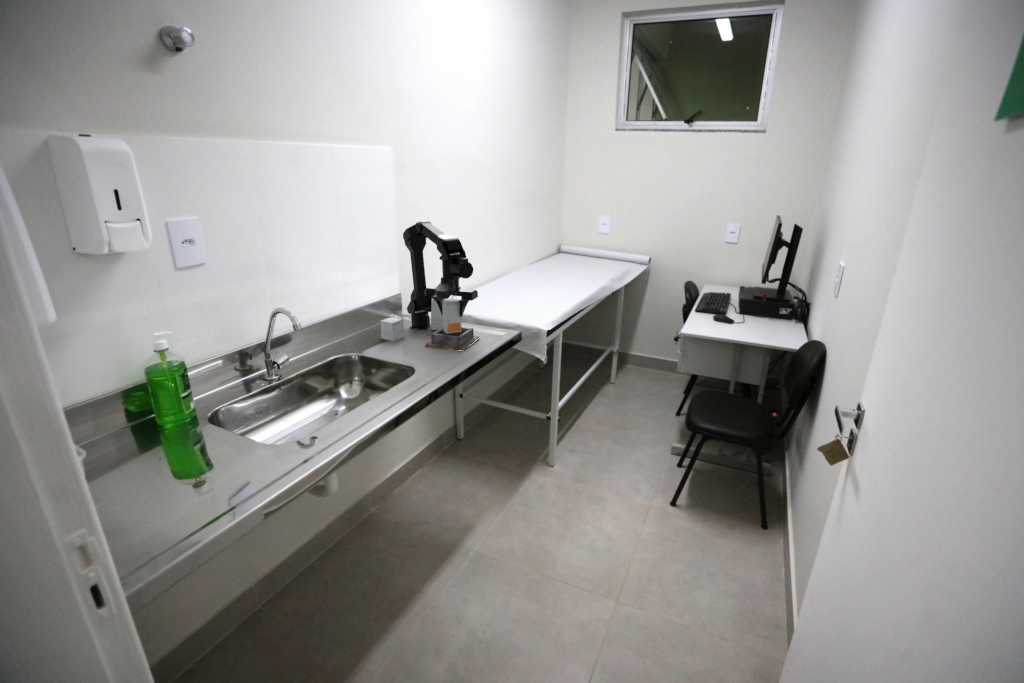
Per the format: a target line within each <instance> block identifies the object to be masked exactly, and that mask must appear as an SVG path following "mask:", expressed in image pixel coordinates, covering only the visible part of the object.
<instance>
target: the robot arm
mask: <svg viewBox="0 0 1024 683" xmlns="http://www.w3.org/2000/svg"><path fill="white" fill-rule="evenodd" d="M402 238H403V241H404V245H405V247H406V248H407V250H408V251H409V254H410V255H409V256H410V264H411V274H412V282H413V290H412V291H411V293H410V301H409V303H408V305H407V307H406V310H407V313H408V314H410V315H411V318H410V319H411V326H409V328H410V329H414V328H417V329H416V330H422V329H424V330H426V329H428V328H429V327H431V326H430V324H431V315H429V313H431V299H434V300H435V301H436V303H437V304H438V307H439V309H440V311H441V314H442V315H443V310H442V300H445V299H448V298H449V297H453V296H454V297H460V299H459V303H460V317H461V318H462V317H463V315H464V314H465V310H466V307H467V306H468V303H469V302H470V301H473V300H475V299H477V298H479V292H478V290H477V289H472V288H467V289H465V290H462V289H461V286H460V279H469V278H471V276H472V275H473V273H474V267H473V265H472V263H471V262H469V258H467V254H466V251H465V249H464V247H463V245H462V242H461V240H460V239H459V238H458V237H457V236H455V235H454V236H453V235H451V234H450V235H448V234H445V233H444V232H443V231H442V230H440V229H439V228H437V227H436V226H434V225H433V224H432V222H431V221H429V220H425V221H423V220H421V221H417V222H416V223H415V224H414V225H411V226H409V227H407V228H405V230H404V232H403V233H402ZM427 239H428V240H430V241H431V242H432V243H434V244H435V245H436V250H437V251H438V253H440V255H441V256H439V260H441V264H442V265H441V266H442V267H441V268H442V271H441V272H442V276H441V278H440V283H438V285H430V286H428V287H427V282H426V281H427V280H426V279H427V278H426V274H425V273H426V270H425V259H424V249H425V248H426V245H427ZM428 326H429V327H428ZM425 328H426V329H425Z"/></svg>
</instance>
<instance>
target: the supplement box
mask: <svg viewBox="0 0 1024 683" xmlns="http://www.w3.org/2000/svg"><path fill="white" fill-rule="evenodd" d="M448 299H454V297H453V296H450V297H449V298H448ZM445 300H447V299H445ZM430 324H431V326H430V330H431V331H433V330H434V331H437V330H439V329H440V328H442V327H443V315H442V314H441V311H440V309H439V307H438V304H437V303H436V301H435V300H434V299H431V312H430Z"/></svg>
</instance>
